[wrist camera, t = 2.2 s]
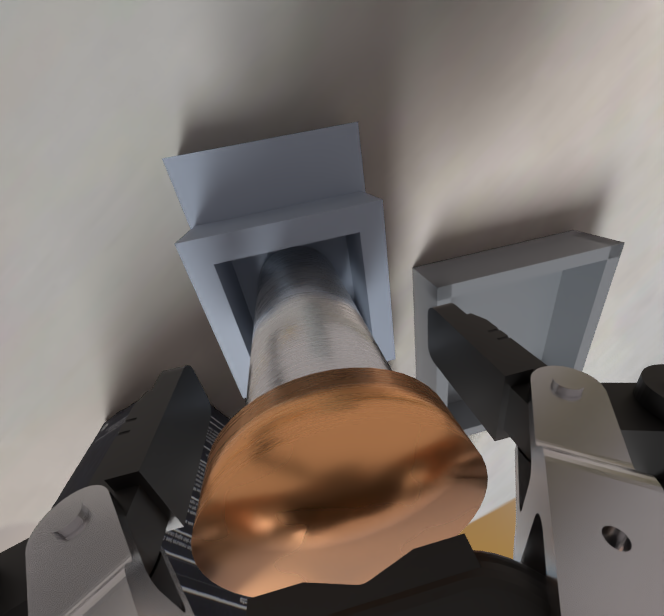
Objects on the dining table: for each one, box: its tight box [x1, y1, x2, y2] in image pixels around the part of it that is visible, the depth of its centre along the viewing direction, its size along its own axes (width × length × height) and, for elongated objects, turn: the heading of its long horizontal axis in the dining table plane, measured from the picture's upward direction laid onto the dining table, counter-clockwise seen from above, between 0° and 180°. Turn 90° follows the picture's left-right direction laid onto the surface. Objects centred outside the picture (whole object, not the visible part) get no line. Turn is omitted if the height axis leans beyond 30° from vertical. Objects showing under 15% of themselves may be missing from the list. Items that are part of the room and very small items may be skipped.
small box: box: [52, 402, 253, 616], centre depth 17 cm, size 11×6×10 cm, turn 32°
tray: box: [413, 230, 624, 436], centre depth 20 cm, size 13×11×3 cm
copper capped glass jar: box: [191, 246, 488, 597], centre depth 10 cm, size 5×5×11 cm
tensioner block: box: [162, 122, 395, 398], centre depth 15 cm, size 18×8×5 cm, turn 10°
